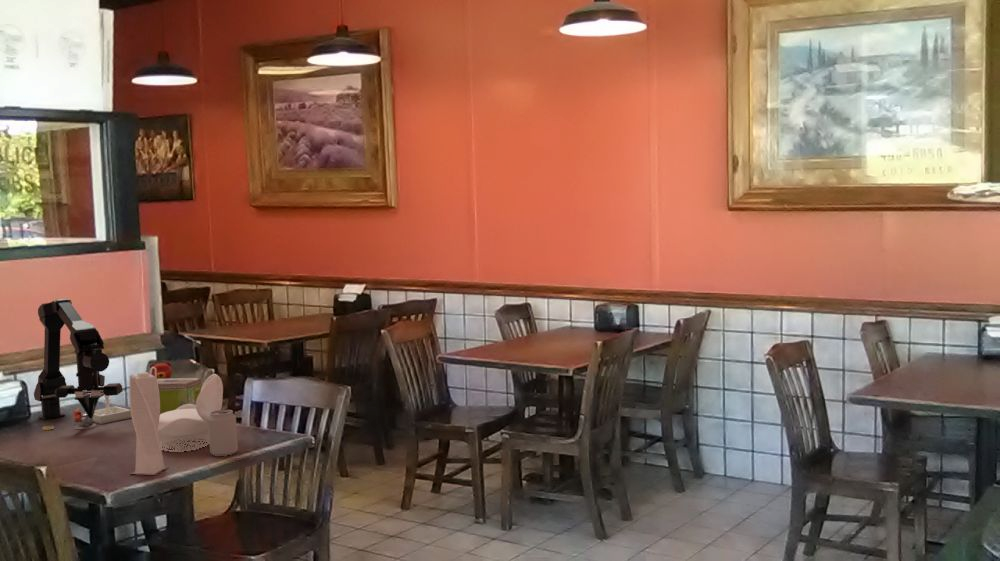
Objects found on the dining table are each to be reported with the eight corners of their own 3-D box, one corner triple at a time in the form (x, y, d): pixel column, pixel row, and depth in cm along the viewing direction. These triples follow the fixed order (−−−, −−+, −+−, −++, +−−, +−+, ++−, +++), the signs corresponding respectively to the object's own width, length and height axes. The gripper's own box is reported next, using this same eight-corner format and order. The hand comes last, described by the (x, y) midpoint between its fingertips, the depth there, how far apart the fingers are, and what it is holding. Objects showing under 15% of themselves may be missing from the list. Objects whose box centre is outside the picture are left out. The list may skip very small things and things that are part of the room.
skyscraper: (173, 468, 276) (165, 364, 273) (157, 477, 268) (149, 369, 265) (144, 467, 278) (136, 364, 275) (127, 476, 270) (119, 369, 267)
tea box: (205, 423, 328) (202, 376, 326) (190, 431, 318) (187, 383, 316) (161, 423, 330) (157, 377, 329) (145, 430, 320) (141, 383, 319)
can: (242, 450, 292) (239, 408, 291) (232, 457, 285) (229, 414, 283) (216, 450, 293) (213, 408, 292) (206, 457, 285) (203, 414, 284)
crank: (80, 423, 331) (78, 403, 330) (94, 422, 331) (93, 402, 330) (69, 432, 318) (67, 411, 318) (84, 432, 319) (82, 410, 318)
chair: (159, 440, 308) (154, 373, 306) (228, 434, 312) (223, 368, 310) (151, 457, 288) (145, 386, 287) (224, 450, 292) (220, 380, 291)
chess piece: (102, 416, 341) (100, 386, 340) (118, 415, 342) (115, 385, 341) (98, 419, 337) (96, 389, 336) (114, 418, 337) (112, 388, 336)
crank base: (71, 427, 329) (71, 426, 329) (91, 423, 333) (91, 422, 333) (80, 430, 324) (80, 429, 324) (100, 426, 329) (100, 425, 329)
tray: (85, 419, 339) (85, 412, 339) (116, 413, 347) (115, 406, 347) (100, 424, 332) (100, 416, 332) (132, 417, 340) (131, 410, 339)
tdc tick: (53, 428, 328) (53, 425, 328) (52, 429, 327) (52, 426, 327) (43, 429, 328) (43, 426, 328) (42, 430, 327) (42, 427, 327)
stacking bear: (144, 422, 332) (140, 367, 331) (148, 415, 342) (144, 361, 341) (180, 419, 335) (176, 364, 333) (183, 412, 345) (179, 359, 343)
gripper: (126, 362, 328) (130, 410, 329) (66, 364, 327) (70, 413, 329) (114, 368, 317) (118, 418, 318) (52, 371, 316) (56, 421, 318)
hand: (91, 417), depth 321 cm, fingers closed
